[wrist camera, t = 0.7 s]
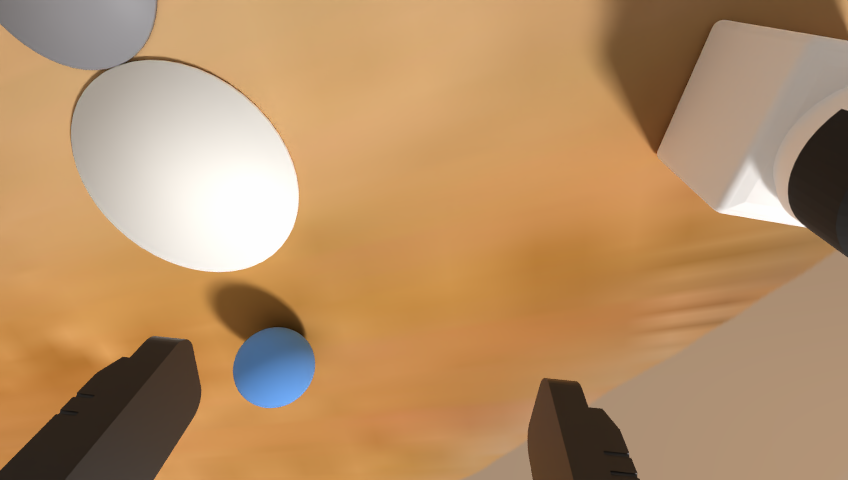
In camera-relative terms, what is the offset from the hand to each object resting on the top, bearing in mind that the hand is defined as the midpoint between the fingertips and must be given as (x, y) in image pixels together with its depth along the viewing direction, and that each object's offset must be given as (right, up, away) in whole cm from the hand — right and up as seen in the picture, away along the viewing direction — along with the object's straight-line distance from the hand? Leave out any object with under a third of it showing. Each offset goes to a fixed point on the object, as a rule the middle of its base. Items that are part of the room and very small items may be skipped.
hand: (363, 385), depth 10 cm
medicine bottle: (+18, +11, +13) cm, 25 cm away
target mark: (-13, +7, +18) cm, 23 cm away
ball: (-9, -6, +22) cm, 24 cm away
